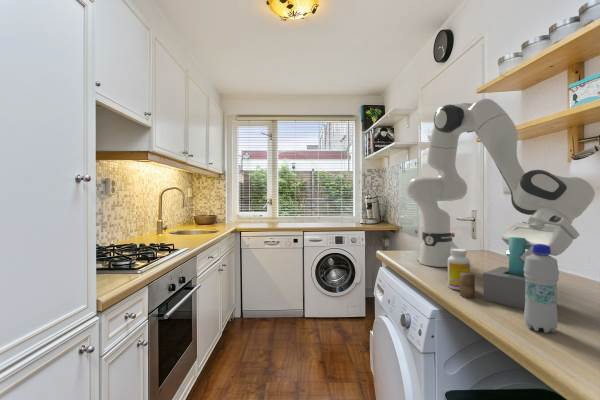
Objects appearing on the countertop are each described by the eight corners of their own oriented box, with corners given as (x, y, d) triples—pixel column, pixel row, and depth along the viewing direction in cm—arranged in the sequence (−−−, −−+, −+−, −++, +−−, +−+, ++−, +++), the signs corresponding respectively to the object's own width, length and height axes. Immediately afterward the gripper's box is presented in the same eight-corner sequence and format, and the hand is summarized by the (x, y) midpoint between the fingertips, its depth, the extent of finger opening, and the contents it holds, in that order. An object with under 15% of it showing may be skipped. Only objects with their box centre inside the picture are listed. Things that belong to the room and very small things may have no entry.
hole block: (501, 291, 105) (501, 266, 105) (550, 301, 95) (550, 274, 95) (483, 299, 97) (483, 273, 97) (534, 312, 87) (535, 282, 87)
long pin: (511, 279, 99) (512, 236, 98) (527, 282, 95) (527, 238, 95) (506, 281, 96) (506, 237, 96) (522, 284, 93) (522, 239, 93)
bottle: (563, 330, 76) (563, 244, 75) (552, 337, 72) (553, 247, 71) (529, 321, 81) (530, 241, 81) (518, 327, 77) (518, 243, 77)
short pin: (463, 293, 103) (464, 271, 103) (477, 296, 100) (477, 273, 100) (457, 295, 101) (457, 273, 101) (470, 299, 98) (471, 276, 97)
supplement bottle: (472, 291, 105) (472, 252, 105) (450, 290, 106) (450, 251, 106) (466, 285, 112) (466, 248, 111) (445, 284, 113) (445, 247, 113)
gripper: (514, 214, 106) (485, 244, 106) (569, 219, 86) (533, 257, 85) (528, 227, 106) (498, 258, 106) (585, 236, 86) (549, 273, 86)
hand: (514, 257), depth 96 cm, fingers closed on long pin, 4 cm apart
